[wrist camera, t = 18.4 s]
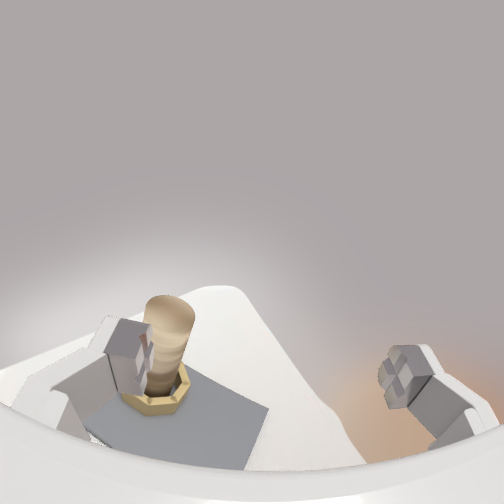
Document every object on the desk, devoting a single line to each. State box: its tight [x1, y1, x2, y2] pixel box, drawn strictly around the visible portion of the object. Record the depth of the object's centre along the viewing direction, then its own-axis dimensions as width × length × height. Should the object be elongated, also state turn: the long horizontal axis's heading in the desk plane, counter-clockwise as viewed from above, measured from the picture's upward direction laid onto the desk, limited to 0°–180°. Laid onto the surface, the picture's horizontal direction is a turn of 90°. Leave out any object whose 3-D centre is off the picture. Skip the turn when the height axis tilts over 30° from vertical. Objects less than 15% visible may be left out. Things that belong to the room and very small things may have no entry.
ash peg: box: [143, 295, 195, 398], centre depth 31 cm, size 5×5×14 cm
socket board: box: [82, 361, 269, 470], centre depth 31 cm, size 17×20×4 cm
